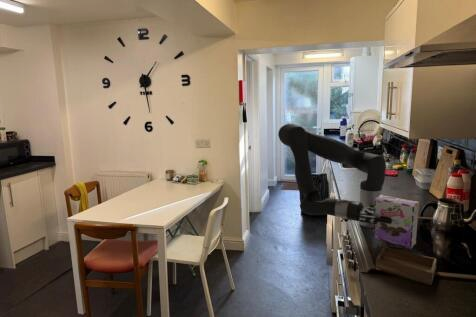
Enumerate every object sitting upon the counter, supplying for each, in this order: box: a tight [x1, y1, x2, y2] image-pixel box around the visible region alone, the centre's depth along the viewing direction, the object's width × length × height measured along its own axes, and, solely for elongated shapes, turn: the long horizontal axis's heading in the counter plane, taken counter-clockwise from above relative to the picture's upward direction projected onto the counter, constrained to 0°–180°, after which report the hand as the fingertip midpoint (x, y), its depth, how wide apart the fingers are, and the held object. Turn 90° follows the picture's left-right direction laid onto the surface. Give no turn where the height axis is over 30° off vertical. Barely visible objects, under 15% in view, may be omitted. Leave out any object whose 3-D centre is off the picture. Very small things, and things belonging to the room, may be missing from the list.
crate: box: [375, 246, 437, 286], centre depth 111 cm, size 11×17×4 cm, turn 53°
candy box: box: [372, 194, 420, 250], centre depth 120 cm, size 14×6×16 cm, turn 45°
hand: (393, 217), depth 121 cm, fingers closed on candy box, 6 cm apart
